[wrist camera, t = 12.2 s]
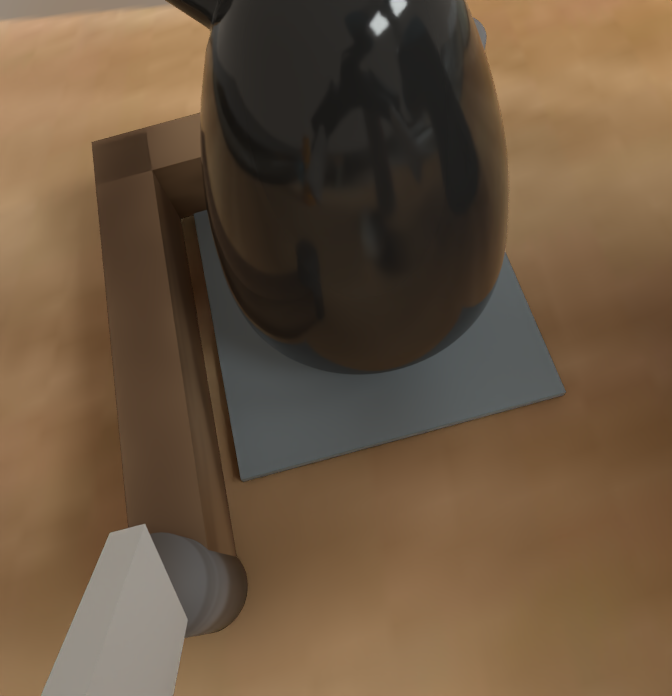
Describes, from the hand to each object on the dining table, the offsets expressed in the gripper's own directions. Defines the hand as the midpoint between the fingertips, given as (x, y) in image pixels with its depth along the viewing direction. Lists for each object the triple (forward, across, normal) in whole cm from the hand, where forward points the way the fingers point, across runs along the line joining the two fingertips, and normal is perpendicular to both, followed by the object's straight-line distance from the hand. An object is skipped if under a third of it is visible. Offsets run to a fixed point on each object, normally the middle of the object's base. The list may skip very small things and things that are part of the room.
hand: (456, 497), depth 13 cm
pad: (+14, 0, 0) cm, 14 cm away
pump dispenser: (+14, 0, +1) cm, 14 cm away
